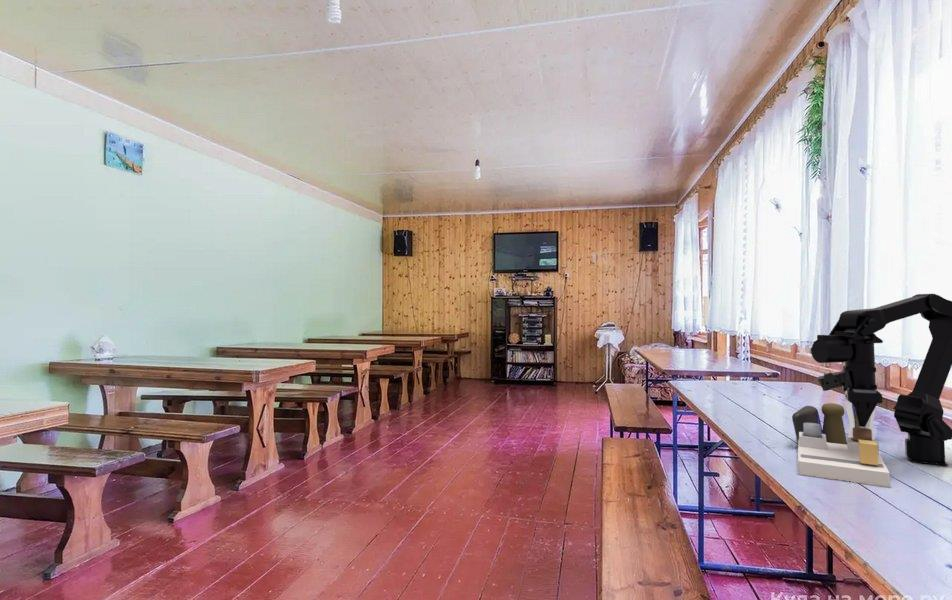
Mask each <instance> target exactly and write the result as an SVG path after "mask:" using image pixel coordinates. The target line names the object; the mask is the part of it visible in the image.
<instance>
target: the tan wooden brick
mask: <svg viewBox="0 0 952 600" xmlns="http://www.w3.org/2000/svg"><path fill="white" fill-rule="evenodd" d="M876 441H877V440H876ZM876 441H869V440H859V439H858V444H859V460H860V463H863V464H871V465H878V446H877V443H878V442H877V443H876Z"/></svg>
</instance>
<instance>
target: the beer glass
mask: <svg viewBox="0 0 952 600" xmlns="http://www.w3.org/2000/svg"><path fill="white" fill-rule="evenodd" d="M844 393H845V394H844V400H845V401H844V402H845V403H844V404H845V409H846V413H847V416H848V421H849V430H848V435H847V437H853V428H854V427H860V426H859V423H858V420H857V416H856V412H855V409H854V405H853V404H852V403H851V402H849V401H848V400H847V399H846V397H845V395H847V390H846V392H845V391H844ZM876 409H877V406H876V407H875V409H874V411H873V412H872V414H871V416H870V418H869V420H868V422H867V424H866V426H865V427H861V428H868V429H871V430H872V439H875V440H876V437H875V433H874V421H875V415H876Z"/></svg>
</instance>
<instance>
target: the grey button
mask: <svg viewBox="0 0 952 600" xmlns="http://www.w3.org/2000/svg"><path fill="white" fill-rule="evenodd" d="M821 426H822V424H821V425H820V424H816V423H803V427H804V436H806V437H815V438H821Z"/></svg>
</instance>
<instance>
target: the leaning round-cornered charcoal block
mask: <svg viewBox="0 0 952 600" xmlns="http://www.w3.org/2000/svg"><path fill="white" fill-rule="evenodd" d="M818 410H819V409H817V408H816V407H815V406H813V405H805V406H802V408H800V409H798V410H797V411H796V412H794V413H792V416H791V417H792V418H791V420H792V425H793V428H794V433H795V437H796V442H797V443H798V440H799V432H804V427H803V423H816V424H820V425H821V434H823V430H822V429H823V425H822V421H821V418H820V415H819V414H820V413H819V411H818Z"/></svg>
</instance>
